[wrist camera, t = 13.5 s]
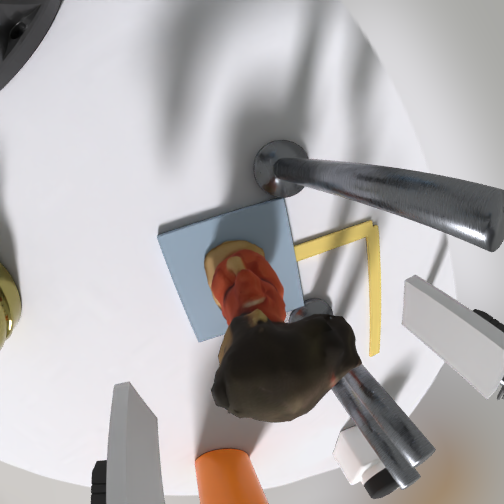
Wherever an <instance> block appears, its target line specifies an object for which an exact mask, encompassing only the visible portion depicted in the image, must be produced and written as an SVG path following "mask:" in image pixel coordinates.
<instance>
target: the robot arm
mask: <svg viewBox="0 0 504 504" xmlns="http://www.w3.org/2000/svg"><path fill="white" fill-rule="evenodd" d="M60 2H61V0H0V90H1V89H2V88H4V86H5V85H6V84H8V82H9V81H10V80H11V79H12V78H13V77H14V76H15V75H16V74H17V73H18V71H19V70H20V69H21V68H22V67H23V65H24V64H25V63H26V62H27V60H28V59H29V58H30V56H31V55H32V54H33V52H34V51H35V49H36V48H37V47H38V45H39V44H40V42H41V41H42V39H43V37H44V36H45V34H46V32H47V31H48V29H49V27H50V25H51V23H52V21H53V19H54V17H55V15H56V13H57V10H58V8H59V5H60ZM402 325H403V326H404V327H406V328H407V329H408V330H409V331H410V332H411V333H413V334H414V335H415V336H416V337H417V338H418V339H420V340H421V341H422V342H423V343H424V344H425V345H427V346H428V347H429V348H430V349H431V350H432V351H434V352H435V353H436V354H437V355H438V356H439V357H440V358H442V359H443V360H444V361H445V362H446V363H447V364H448V365H450V366H451V367H452V368H453V369H454V370H455V371H456V372H457V373H459V374H460V375H461V376H462V377H463V378H464V379H465V380H466V381H467V382H468V383H470V384H471V385H472V386H473V387H474V388H475V389H476V390H477V391H478V392H479V393H480V394H482V395H483V396H484V397H485V398H486V399H488V398H489V397H490V396H491V395H492V394H493V393H494V392H495V391H496V390H497V388H498V386H499V384H500V383H501V381H503V382H504V325H503V324H502V323H499V321H497V320H496V319H493V317H491V316H490V315H488V314H487V313H485V312H483V311H480V310H477V309H474V310H473V311H472V310H470V309H469V308H467V307H466V306H464V305H462V304H461V303H459V302H458V301H457V300H455V299H453V298H452V297H450V296H449V295H447V294H446V293H444V292H443V291H441V290H439V289H438V288H436V287H435V286H433V285H431V284H430V283H428V282H427V281H425V280H423V279H422V278H420V277H418V276H417V275H414V276H412V277H410V278H408V279H406V280H405V286H404V303H403V315H402ZM503 392H504V385H503V386H502V388H501V390H500V392H499V394H498V397H497V399H498V400H499V399H500V397H501V396H502V394H503ZM502 399H504V395H503V397H502ZM91 493H92V495H91V504H165V500H164V493H163V484H162V475H161V465H160V454H159V440H158V423H157V417H156V416H155V415H154V414H153V412H152V411H151V410H150V409H149V407H148V406H147V405H146V403H145V402H144V401H143V399H142V398H141V397H140V395H139V394H138V393H137V391H136V390H135V389H134V387H133V386H132V385H131V383H130V382H125V383H121V384H116V385H114V390H113V398H112V406H111V415H110V426H109V437H108V452H107V460H104V461H97V462H96V464H95V467H94V469H93V471H92V486H91Z"/></svg>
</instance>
